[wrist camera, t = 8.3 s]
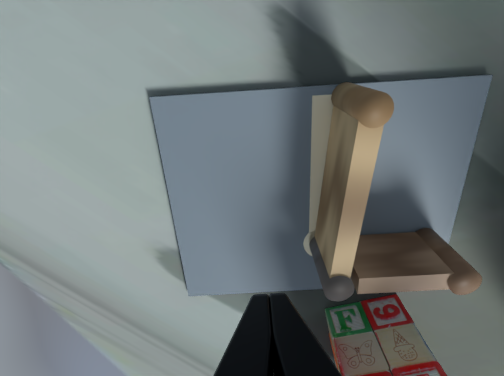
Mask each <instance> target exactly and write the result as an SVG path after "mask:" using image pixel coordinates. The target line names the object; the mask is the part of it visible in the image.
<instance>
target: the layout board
mask: <svg viewBox="0 0 504 376" xmlns="http://www.w3.org/2000/svg"><path fill="white" fill-rule="evenodd" d="M492 76H493V75H474V76H459V77H443V78H428V79H413V80H397V81H382V82H366V83H353V84H357V85H360V86H364V87H367V88H371V89H375V90H378V91H382V92H385V93H387V94H388V95H390V96H391V98H392V99H393V102H394V112H393V114H392V116H391V118H390V120H389V121H388V122H387V123H386V124H384V127H383V132H382V136H381V141H380V145H379V150H378V155H377V159H376V164H375V168H374V173H373V177H372V182H371V186H370V191H369V196H368V200H367V205H366V209H365V214H364V218H363V223H362V227H361V232H360V235H371V234H388V233H406V232H416V231H418V230H419V229H422V228H431V229H433V230H434V231H435V232H436V233H437V234H438V235H439V236H440V237H441V238H442V239H443V240H444V241H446V242H447V243H448V244H449V240H450V237H451V233H452V229H453V225H454V221H455V217H456V214H457V210H458V206H459V202H460V198H461V194H462V191H463V187H464V183H465V179H466V175H467V172H468V168H469V164H470V160H471V156H472V152H473V149H474V145H475V141H476V137H477V133H478V129H479V126H480V122H481V118H482V114H483V110H484V106H485V103H486V99H487V95H488V91H489V87H490V84H491V80H492ZM338 85H339V84H335V85H320V86H305V87H289V88H274V89H258V90H243V91H227V92H212V93H197V94H181V95H166V96H151V97H149V99H150V104H151V109H152V114H153V119H154V124H155V129H156V134H157V139H158V144H159V149H160V154H161V159H162V164H163V169H164V174H165V179H166V184H167V189H168V194H169V200H170V205H171V210H172V215H173V220H174V225H175V230H176V235H177V240H178V245H179V250H180V255H181V260H182V265H183V270H184V275H185V280H186V285H187V290H188V295H189V296H201V295H219V294H238V293H257V292H275V291H294V290H313V289H323V288H322V285H321V282H320V279H319V276H318V272H317V269H316V266H315V263H314V260H313V256H312V253H311V250H310V247H309V243H310V241H311V239H312V238H313V237H314V236H315V230H316V223H317V216H318V209H319V202H320V195H321V188H322V181H323V174H324V167H325V161H326V154H327V147H328V140H329V133H330V126H331V119H332V112H333V104H332V101H331V96H332V92H333V90H334V89H335V87H336V86H338Z"/></svg>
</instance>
